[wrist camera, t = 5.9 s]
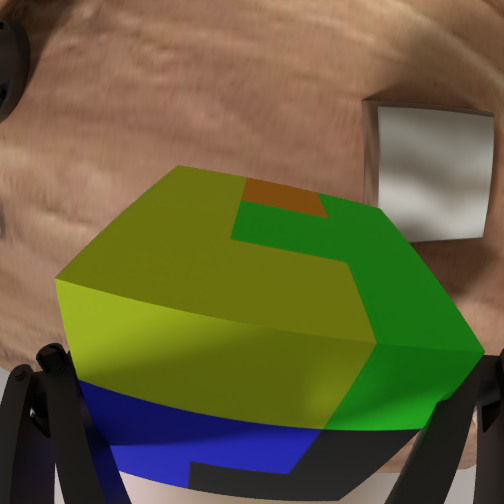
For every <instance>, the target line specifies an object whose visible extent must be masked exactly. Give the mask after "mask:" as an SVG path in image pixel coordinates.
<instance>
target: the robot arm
mask: <svg viewBox="0 0 504 504" xmlns="http://www.w3.org/2000/svg"><path fill="white" fill-rule="evenodd" d="M28 67H29V44H28V39H27V36H26V33H25V31H24V29H23V27H22V26H21V25H20V24H19V23H18V22H16V21H14V20H11V19H1V18H0V123H1V122H2V121H4V120H5V119H6V118H7V117H8V116H9V115H10V113H11V112H12V111H13V109H14V107H15V106H16V104H17V102H18V100H19V98H20V96H21V94H22V91H23V88H24V85H25V82H26V78H27V73H28ZM36 360H37V362H38V363H39V365H40V366H41V368H42V369H43V371H40V372H34V371H33V370H32V368H31V367H30V366H29V365H28V364H22V365H19V366H17V367H15V368H14V369H13V370H12V371H11V373H10V375H9V377H8V381H7V384H6V388H5V390H4V394H3V397H2V401H1V404H0V504H54V484H55V463H56V468H57V473H58V477H59V482H60V486H61V491H62V495H63V499H64V502H65V504H132V503H131V501H130V499H129V496H128V494H127V491H126V489H125V486H124V484H123V481H122V478H121V476H120V473H119V470H118V468H117V465H116V462H115V459H114V456H113V453H112V450H111V447H110V445H109V444H108V443H107V442H106V440H105V439H104V438H103V437H102V436H101V434H100V433H99V432H98V431H97V430H96V428H95V427H94V424H93V421H92V419H91V416H90V413H89V410H88V408H87V405H86V402H85V399H84V396H83V393H82V390H81V387H80V384H79V380H78V377H77V374H76V370H75V367H74V363H73V360H72V356H71V353H70V350H69V351H68V353H67V354H66V352H65V350H64V348H63V347H62V345H60V344H59V343H51V344H48V345H46V346H44V347H43V348H42V349H40V350H39V352H38V353H37V355H36ZM475 406H477V464H476V465H477V466H476V479H475V491H474V500H473V504H504V349H503V350H502V352H501V353H500V356H493V355H483V356H482V357H481V358H480V360H479V361H478V362H477V364H476V365H475V367H474V368H473V369H472V371H471V372H470V373H469V374H468V376H467V377H466V378H465V380H464V381H463V382H462V383H461V385H460V386H459V387H458V388H457V390H456V391H455V392H454V393H453V394H452V396H451V397H450V398H449V399H447V400H443V401H439V402H437V403H436V405H435V407H434V409H433V411H432V413H431V415H430V417H429V419H428V420H427V422H426V424H425V426H424V427H423V428H422V429H421V430H420V431H419V434H418V436H417V438H416V441H415V443H414V445H413V448H412V450H411V452H410V454H409V456H408V459H407V461H406V463H405V465H404V467H403V469H402V471H401V473H400V475H399V477H398V479H397V481H396V483H395V485H394V487H393V489H392V491H391V493H390V494H389V496H388V498H387V500H386V501H385V503H384V504H444V502H445V499H446V497H447V494H448V492H449V489H450V487H451V484H452V482H453V479H454V476H455V473H456V471H457V468H458V465H459V462H460V459H461V456H462V452H463V449H464V446H465V442H466V439H467V436H468V432H469V428H470V424H471V420H472V416H473V412H474V408H475ZM30 411H32V414H31V416H30Z"/></svg>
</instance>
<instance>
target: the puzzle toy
mask: <svg viewBox="0 0 504 504" xmlns="http://www.w3.org/2000/svg"><path fill="white" fill-rule="evenodd" d="M55 283H56V289H57V295H58V300H59V305H60V310H61V315H62V319H63V324H64V328H65V333H66V337H67V341H68V345H69V349H70V353H71V356H72V360H73V363H74V367H75V370H76V374H77V377H78V380H79V384H80V387H81V390H82V393H83V396H84V399H85V402H86V405H87V408H88V410H89V413H90V416H91V419H92V421H93V424H94V427H95V428H96V430H97V431H98V432H99V433H100V434H101V436H102V437H103V438H104V439H105V440H106V442H107V443H108V444H109V445H110V447H111V450H112V453H113V456H114V459H115V462H116V465H117V468H118V470H119V471H121V472H125V473H128V474H131V475H134V476H138V477H141V478H145V479H148V480H152V481H156V482H160V483H164V484H169V485H173V486H178V487H182V488H187V489H192V490H197V491H203V492H208V493H214V494H221V495H229V496H236V497H245V498H255V499H269V500H284V501H338V500H340V499H341V498H343V497H344V496H345V495H347V494H348V493H349V492H351V491H352V490H353V489H355V488H356V487H357V486H358V485H360V484H361V483H362V482H364V481H365V480H366V479H367V478H369V477H370V476H371V475H372V474H373V473H375V472H376V471H377V470H378V469H379V468H380V467H382V466H383V465H384V464H385V463H386V462H387V461H388V460H390V459H391V458H392V457H393V456H394V455H395V454H396V453H397V452H398V451H399V450H400V449H401V448H403V447H404V446H405V445H406V444H407V443H408V442H409V441H410V440H411V439H412V438H413V437H414V436H415V435H416V434H417V433H418V432H419V431H420V430H421V429H422V428H423V427H424V426H425V424H426V422H427V420H428V419H429V417H430V415H431V413H432V411H433V409H434V407H435V405H436V403H437V402H439V401H443V400H447V399H449V398H450V397H451V396H452V394H453V393H454V392H455V391H456V390H457V388H458V387H459V386H460V385H461V383H462V382H463V381H464V380H465V378H466V377H467V376H468V374H469V373H470V372H471V371H472V369H473V368H474V367H475V365H476V364H477V362H478V361H479V360H480V358H481V357H482V356H483V354H484V353H485V351H484V349H483V347H482V346H481V344H480V343H479V341H478V339H477V338H476V336H475V335H474V333H473V331H472V330H471V328H470V327H469V325H468V324H467V322H466V321H465V319H464V318H463V316H462V315H461V313H460V312H459V310H458V309H457V307H456V306H455V304H454V303H453V301H452V300H451V298H450V297H449V296H448V294H447V293H446V291H445V290H444V288H443V287H442V286H441V284H440V283H439V282H438V280H437V279H436V277H435V276H434V275H433V273H432V272H431V271H430V269H429V268H428V267H427V265H426V264H425V263H424V261H423V260H422V259H421V258H420V256H419V255H418V254H417V252H416V251H415V250H414V249H413V247H412V246H411V245H410V244H409V242H408V241H407V240H406V239H405V237H404V236H403V235H402V234H401V232H400V231H399V230H398V229H397V228H396V226H395V225H394V224H393V223H392V222H391V220H390V219H389V218H388V217H387V216H386V215H385V213H384V212H383V211H382V210H381V209H380V208H376V207H373V206H369V205H365V204H361V203H357V202H353V201H349V200H345V199H341V198H337V197H333V196H329V195H325V194H321V193H317V192H312V191H308V190H303V189H299V188H295V187H290V186H285V185H281V184H276V183H271V182H266V181H262V180H257V179H252V178H247V177H241V176H236V175H231V174H225V173H220V172H214V171H209V170H203V169H197V168H191V167H185V166H179V165H178V166H176V167H175V168H174V169H173V170H171V171H170V172H169V173H168V174H166V175H165V176H164V177H163V178H162V179H160V180H159V181H158V182H157V183H156V184H154V185H153V186H152V187H151V188H150V189H148V190H147V191H146V192H145V193H144V194H143V195H141V196H140V197H139V198H138V199H137V200H136V201H135V202H133V203H132V204H131V205H130V206H129V207H128V208H127V209H125V210H124V211H123V212H122V213H121V214H120V215H119V216H118V217H117V218H116V219H114V220H113V221H112V222H111V223H110V224H109V225H108V226H107V227H106V228H105V229H104V230H103V231H101V232H100V233H99V234H98V235H97V236H96V237H95V238H94V239H93V240H92V241H91V242H90V243H89V244H88V245H87V246H86V247H85V248H84V249H83V250H82V251H81V252H80V253H79V254H78V255H77V256H76V257H75V258H74V259H73V260H72V261H71V262H70V263H69V264H68V265H67V266H66V267H65V268H64V269H63V270H62V271H61V272H60V273H59V274H58V275H57V276H56V277H55Z"/></svg>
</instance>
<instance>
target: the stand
mask: <svg viewBox="0 0 504 504" xmlns="http://www.w3.org/2000/svg"><path fill="white" fill-rule="evenodd" d="M362 113H363V136H364V204H365V205H369V206H373V207H376V208H380V209H381V210H382V211H383V212H384V213H385V215H386V216H387V217H388V218H389V219H390V220H391V222H392V223H393V224H394V225H395V226H396V228H397V229H398V230H399V231H400V232H401V234H402V235H403V236H404V237H405V239H406V240H407V241H408V242H409V244H413V243H427V242H442V241H456V240H471V239H482V237H483V231H484V226H485V220H486V214H487V207H488V200H489V192H490V184H491V174H492V162H493V147H494V113H492V112H487V111H482V110H476V109H469V108H462V107H454V106H446V105H436V104H426V103H414V102H398V101H374V100H362Z"/></svg>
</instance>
